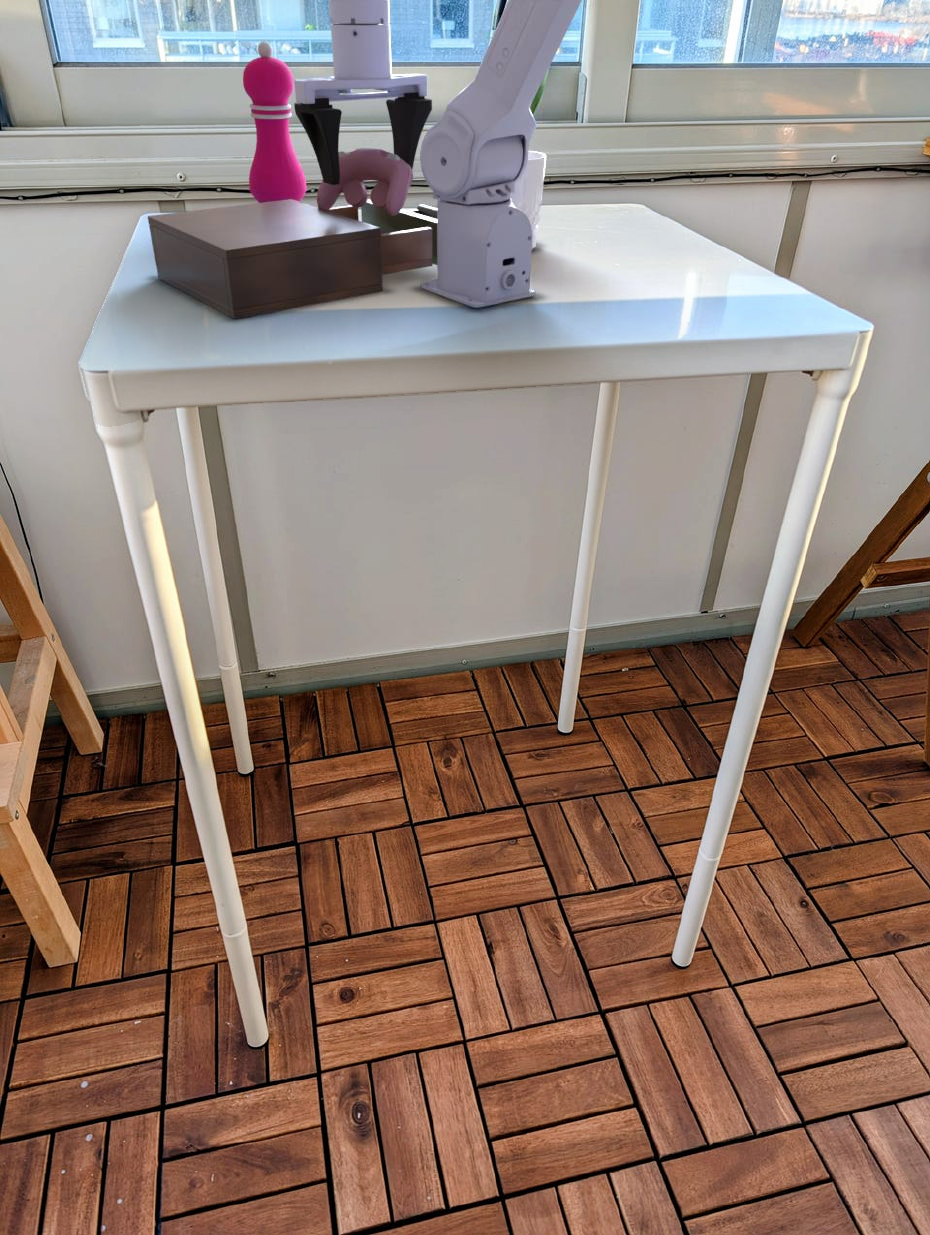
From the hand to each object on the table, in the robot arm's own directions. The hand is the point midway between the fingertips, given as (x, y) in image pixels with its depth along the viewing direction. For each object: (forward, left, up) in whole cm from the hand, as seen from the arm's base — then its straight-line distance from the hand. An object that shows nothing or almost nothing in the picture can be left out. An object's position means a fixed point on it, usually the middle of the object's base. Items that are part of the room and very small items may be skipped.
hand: (368, 179), depth 95 cm
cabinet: (0, +13, -9) cm, 16 cm away
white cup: (-1, -19, -9) cm, 21 cm away
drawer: (0, 0, -8) cm, 8 cm away
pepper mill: (+26, -3, -9) cm, 28 cm away
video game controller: (+1, 0, -3) cm, 4 cm away
